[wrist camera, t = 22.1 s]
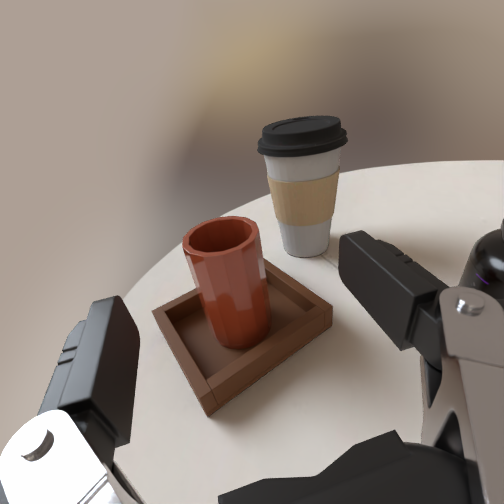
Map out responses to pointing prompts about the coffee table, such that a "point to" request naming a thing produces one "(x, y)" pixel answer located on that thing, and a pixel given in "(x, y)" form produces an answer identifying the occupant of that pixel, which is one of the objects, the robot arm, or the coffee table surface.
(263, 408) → the coffee table surface
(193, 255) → the tumbler
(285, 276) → the tray
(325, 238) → the coffee cup
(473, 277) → the supplement bottle
